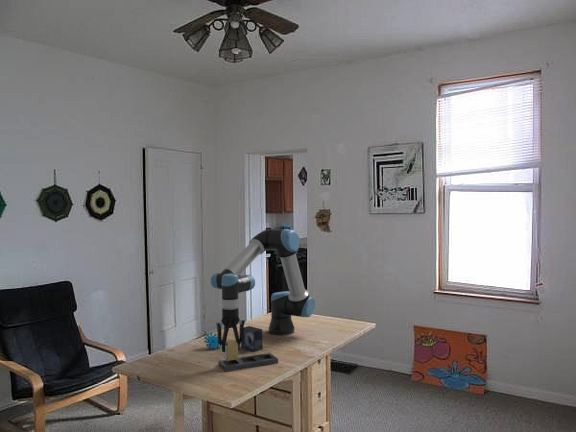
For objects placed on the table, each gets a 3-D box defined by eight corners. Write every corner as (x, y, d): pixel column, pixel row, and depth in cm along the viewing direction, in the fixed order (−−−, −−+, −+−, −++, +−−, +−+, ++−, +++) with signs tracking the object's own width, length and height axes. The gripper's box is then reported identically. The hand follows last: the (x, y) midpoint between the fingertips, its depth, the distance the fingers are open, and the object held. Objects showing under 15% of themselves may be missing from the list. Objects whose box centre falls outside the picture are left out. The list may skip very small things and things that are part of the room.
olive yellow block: (234, 356, 229) (233, 339, 229) (237, 359, 225) (237, 342, 224) (224, 357, 227) (224, 340, 227) (227, 360, 223) (227, 343, 223)
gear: (207, 348, 249) (203, 331, 255) (203, 355, 252) (199, 338, 258) (226, 348, 255) (222, 331, 261) (222, 354, 258) (218, 337, 264)
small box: (240, 347, 255) (239, 328, 255) (249, 345, 260) (249, 325, 259) (254, 352, 248) (253, 331, 247) (263, 349, 253) (263, 328, 252)
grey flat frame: (269, 356, 240) (269, 352, 240) (278, 362, 231) (278, 358, 231) (218, 365, 229) (218, 360, 229) (225, 371, 220) (225, 367, 219)
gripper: (245, 304, 232) (246, 353, 233) (209, 308, 225) (210, 358, 225) (251, 307, 225) (251, 357, 226) (214, 311, 218) (215, 363, 219)
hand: (231, 357), depth 226 cm, fingers closed on olive yellow block, 4 cm apart
